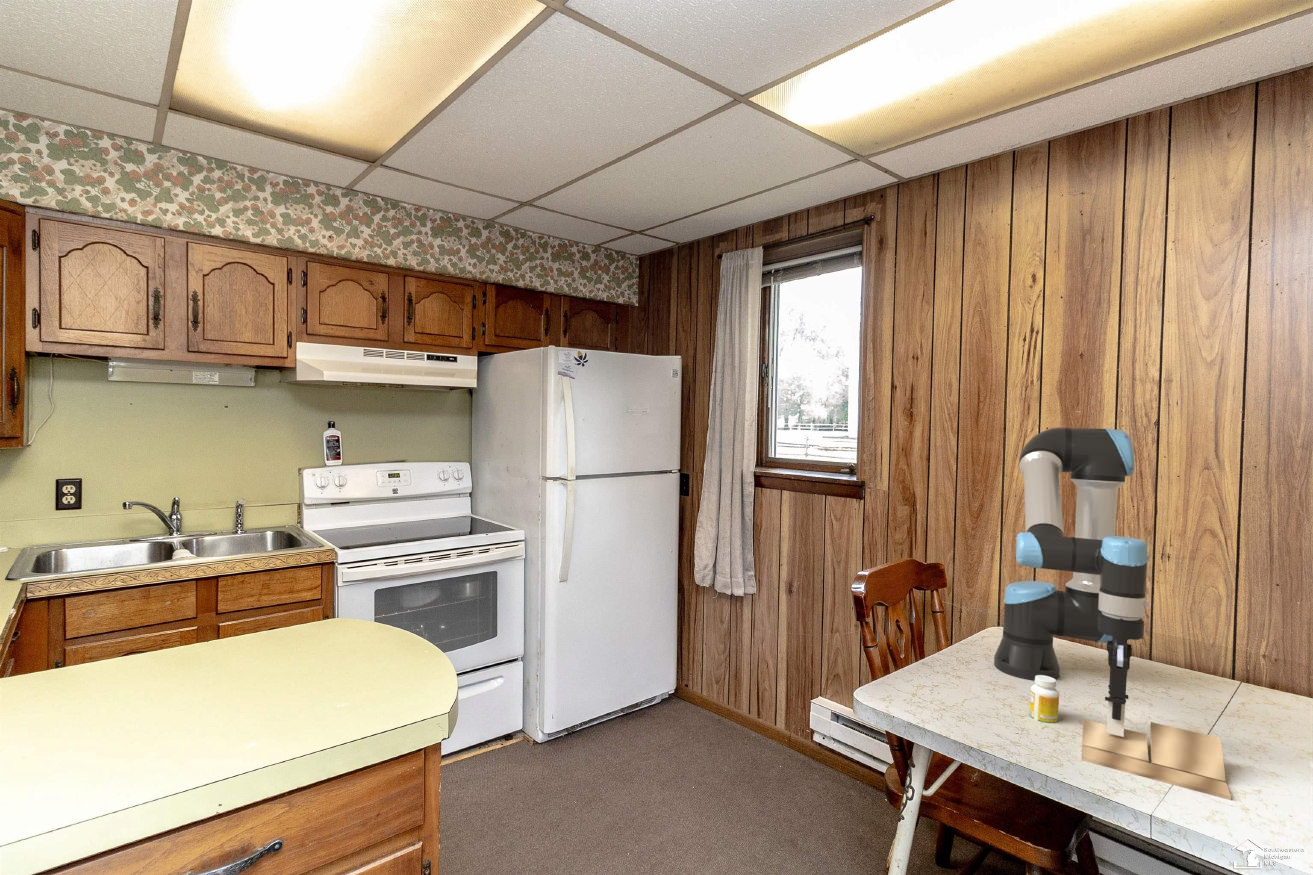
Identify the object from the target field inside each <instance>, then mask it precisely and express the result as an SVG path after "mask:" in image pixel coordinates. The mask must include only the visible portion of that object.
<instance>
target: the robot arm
mask: <svg viewBox="0 0 1313 875" xmlns="http://www.w3.org/2000/svg"><path fill="white" fill-rule="evenodd" d="M1134 454H1135V453H1134V449H1133V444H1132V441H1131V437H1130V436H1129V434H1128V433H1127V432H1126V431H1124V430H1121V429H1114V428H1113V429H1112V428H1107V427H1105V428H1085V427H1084V428H1081V427H1080V428H1079V427H1077V428H1076V427H1059V426H1058V427H1053V428H1048V429H1046V430H1044V431H1041V432H1040V433H1038V434H1036V435H1034V436H1033V437H1032V438H1031V439H1029V441H1027V443H1026V444H1025V445H1024V447H1023V449H1022V450H1021V452H1020V455H1019V460H1018V461H1019V462H1018V463H1019V464H1018V466H1019V471H1020V473H1021V474H1022V475H1023V482H1024V483H1023V485H1024V486H1023V487H1024V520H1025V523H1024V524H1025V525H1024V526H1025V527H1024V528H1025V532H1022V531H1021V532H1018V534H1017V535H1016V546H1015V558H1016V559H1015V560H1016V562H1017V563H1018V565H1020V566H1023V567H1029V568H1034V569H1042V570H1051V571H1052V570H1053V571H1062V572H1063V571H1064V572H1072V578H1071V580H1069V581H1067V582H1066V583H1065V590H1058V589H1057V586H1056V585H1055V584H1054V583H1051V582H1045V581H1041V580H1037V581H1036V580H1024V581H1015V582H1011V583H1010V584H1008V585H1007V586H1006V588H1005V591H1004V593H1005V594H1004V599H1003V603H1004V608H1003V609H1004V610H1003V611H1004V612H1003V624H1002V638H1001V639H1000V642H999V645H998V646H997V648H996V652H995V654H994V657H993V665H994V667H995V668H996V669H997V670H999V671H1001V672H1002V673H1005V674H1009V675H1011V676H1014V677H1016V678H1017V677H1018V678H1021V679H1027V680H1031V681H1032V680H1033V681H1035V676H1036V675H1044V676H1049V677H1052V678H1054V679H1055V680H1056V681H1057V680H1058V679H1059V678H1060V671H1061V670H1060V665H1059V663H1058V662H1059V661H1058V658H1057V655H1056V652H1055V648H1054V636H1056V637H1057V636H1058V637H1063V638H1069V639H1076V640H1081V641H1082V640H1083V641H1090V642H1093V643H1096V644H1098V643H1103V644H1104V643H1105V644H1106V647H1107V649H1106V650H1107V657H1108V658H1107V662H1108V666H1109V680H1108V681H1109V683H1108V689H1109V690H1108V691H1107V692H1108V696H1105V697H1104V701H1106V702H1107V714H1106V716H1107V718H1106V725H1107V733H1109V734H1114V735H1118V736H1122V737H1124V729H1125V719H1126V718H1125V717H1126V716H1125V714H1126V703H1127V700H1129V695H1128V694H1127V682H1128V681H1127V680H1128V671H1129V670H1130V667H1131V666H1130V664H1131V663H1130V662H1131V657H1132V654H1133V647H1132V644H1130V643H1128V641H1129V640H1133V641H1138V640H1141V639H1143V638H1144V634H1145V633H1144V632H1145V621H1144V619H1142V618H1144V617H1145V610H1146V609H1145V608H1148V607H1150V603H1149V602H1148V601H1146V590H1147V574H1148V573H1147V572H1148V562H1149V559H1150V558H1149V554H1148V552H1149V551H1148V549H1149V548H1148V543H1147V542H1146V541H1144V540H1143V539H1141V538H1140V539H1139V538H1136V537H1128V536H1122V535H1121V536H1118V535H1116V529H1117V528H1116V527H1117V526H1116V525H1117V524H1116V523H1117V522H1116V521H1117V505H1118V504H1117V503H1118V490H1119V488H1121V487H1122V486H1123V485H1125V484H1126V477H1127V478H1129V477H1132V476H1133V474H1134V470H1135V456H1134ZM1061 473H1070V481H1072V483H1074V485H1075V486H1076V506H1075V526H1074V528H1075V529H1074V537H1073V536H1065V533H1064V532H1065V531H1064V521H1063V511H1062V508H1063V507H1062V501H1061V500H1062V498H1061V488H1060V477H1059V475H1061Z"/></svg>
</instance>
